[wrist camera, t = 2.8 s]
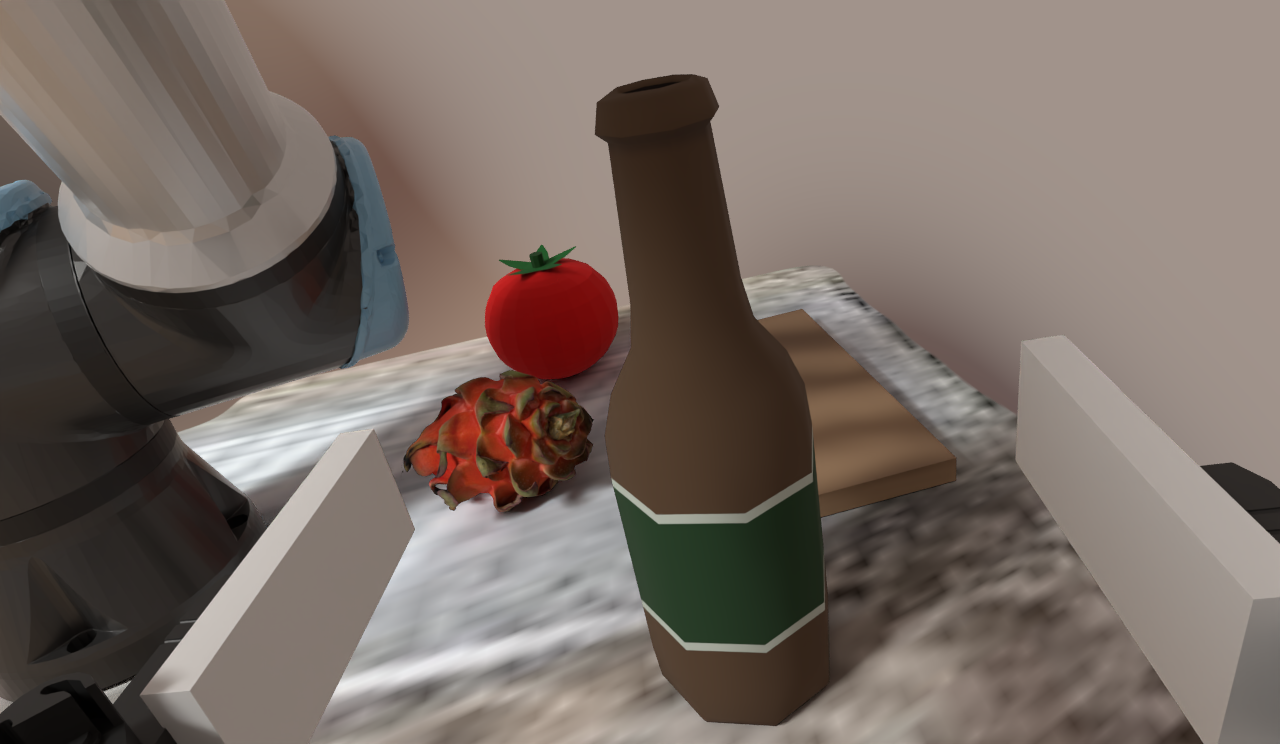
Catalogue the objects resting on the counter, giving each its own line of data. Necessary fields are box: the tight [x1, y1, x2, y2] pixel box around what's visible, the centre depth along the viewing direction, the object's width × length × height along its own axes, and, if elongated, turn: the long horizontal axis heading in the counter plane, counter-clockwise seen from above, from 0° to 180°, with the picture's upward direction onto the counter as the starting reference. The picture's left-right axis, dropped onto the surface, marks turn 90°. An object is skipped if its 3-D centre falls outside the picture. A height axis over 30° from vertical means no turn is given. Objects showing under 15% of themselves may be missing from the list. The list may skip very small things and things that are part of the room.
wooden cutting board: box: [758, 309, 956, 517], centre depth 49 cm, size 22×14×2 cm, turn 11°
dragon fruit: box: [401, 370, 594, 512], centre depth 46 cm, size 8×8×12 cm
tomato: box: [485, 245, 618, 379], centre depth 59 cm, size 10×10×10 cm
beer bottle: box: [595, 74, 829, 726], centre depth 27 cm, size 8×8×24 cm
